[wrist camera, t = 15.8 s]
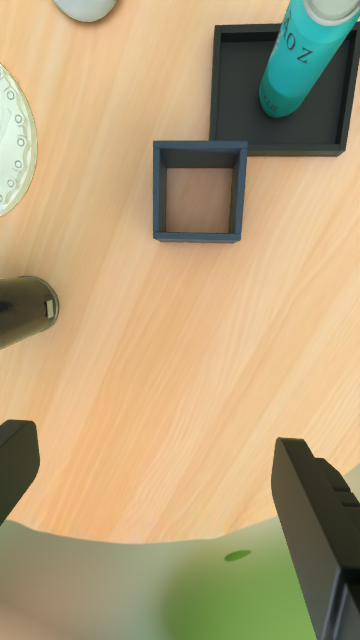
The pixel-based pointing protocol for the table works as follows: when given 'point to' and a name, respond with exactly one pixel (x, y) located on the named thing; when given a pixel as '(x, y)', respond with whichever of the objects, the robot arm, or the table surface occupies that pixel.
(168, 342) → the table surface
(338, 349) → the table surface
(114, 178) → the table surface
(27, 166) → the medallion
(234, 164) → the caddy
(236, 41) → the tray
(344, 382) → the table surface
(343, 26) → the beverage can
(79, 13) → the donut
